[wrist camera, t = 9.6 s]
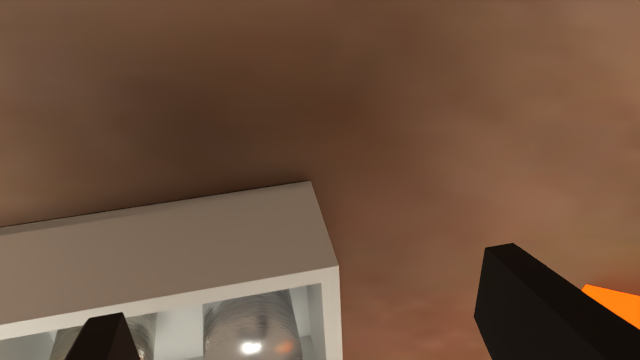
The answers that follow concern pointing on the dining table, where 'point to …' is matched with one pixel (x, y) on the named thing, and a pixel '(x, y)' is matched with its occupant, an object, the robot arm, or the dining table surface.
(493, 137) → the dining table surface
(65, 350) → the bushing
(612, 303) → the orange juice
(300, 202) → the tub
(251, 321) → the bushing
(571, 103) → the dining table surface
